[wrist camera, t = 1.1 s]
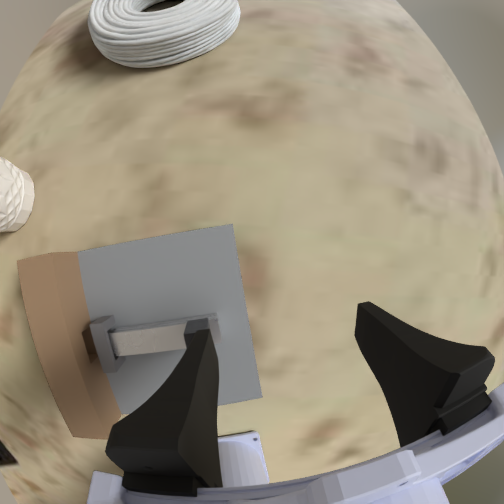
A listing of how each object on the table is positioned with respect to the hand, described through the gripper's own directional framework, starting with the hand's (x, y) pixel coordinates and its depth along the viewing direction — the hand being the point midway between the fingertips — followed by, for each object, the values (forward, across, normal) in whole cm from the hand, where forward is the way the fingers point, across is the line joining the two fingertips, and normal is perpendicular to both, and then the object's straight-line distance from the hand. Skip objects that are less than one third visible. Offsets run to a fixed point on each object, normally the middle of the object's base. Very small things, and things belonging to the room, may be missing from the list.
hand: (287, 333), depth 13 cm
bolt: (+8, +9, +5) cm, 13 cm away
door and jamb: (+9, +11, +6) cm, 16 cm away
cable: (+23, +7, -26) cm, 35 cm away
